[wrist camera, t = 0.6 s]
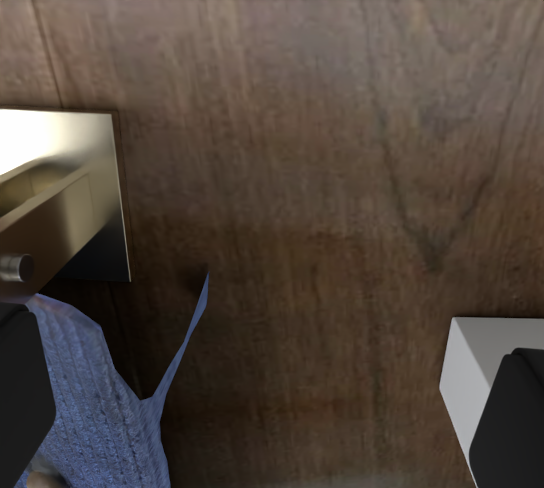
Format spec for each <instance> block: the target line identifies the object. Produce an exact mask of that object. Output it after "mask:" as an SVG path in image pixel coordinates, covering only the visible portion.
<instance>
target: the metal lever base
mask: <svg viewBox="0 0 544 488" xmlns="http://www.w3.org/2000/svg"><path fill="white" fill-rule="evenodd" d="M135 275H136V270H135V261H134V252H133V243H132V234H131V225H130V216H129V206H128V197H127V188H126V179H125V170H124V161H123V152H122V143H121V134H120V125H119V116H118V111H109V110H89V109H70V108H50V107H31V106H11V105H0V302H6V303H17V304H24V305H25V304H26V303H27V302H28V301H29V300H30V299H31V298H32V297H33V296H34V295H35V294H36V293H37V292H38V291H39V290H40V289H41V288H42V287H43V286H44V285H45V284H46V283H47V282H48V281H49V280H50V279H51V278H53V277H57V278H72V279H86V280H101V281H116V282H131V281H132V280H133V278H134V277H135Z"/></svg>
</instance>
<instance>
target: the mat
mask: <svg viewBox="0 0 544 488" xmlns="http://www.w3.org/2000/svg"><path fill="white" fill-rule="evenodd" d="M208 279H209V272H208V275H207V278H206V281H205V284H204V287H203V289H202V292H201V295H200V298H199V301H198V304H197V307H196V310H195V313H194V315H193V318H192V321H191V324H190V327H189V329H188V332H187V335H186V338H185V341H184V343H183V344H182V346H181V347H180V349H179V351H178V352H177V354H176V356H175V357H174V359H173V361H172V362H171V364H170V366H169V367H168V369H167V371H166V373H165V375H164V377H163V378H162V380H161V382H160V384H159V386H158V388H157V389H156V391H155V393H154V395H153V396H152V397H150V398H147V399H144V400H139V399H138V397H137V396H136V395H135V394H134V392H133V391H132V390H131V389H130V387H129V386H128V385H127V383H126V382H125V381H124V380H123V378H122V377H121V376H120V375H119V373H118V372H117V371H116V370H115V368H114V365H113V362H112V359H111V356H110V353H109V350H108V347H107V344H106V341H105V338H104V335H103V332H102V329H101V326H100V325H99V324H97V323H96V322H94V321H93V320H92V319H90V318H89V317H87V316H86V315H85V314H83V313H82V312H80V311H79V310H77V309H76V308H75V307H73V306H72V305H69V304H67V303H64V302H61V301H58V300H55V299H52V298H49V297H46V296H43V295H41V294H38V293H36V294H35V295H34V296H33V297H32V298H31V299H30V300H29V301H28V302H27V303H26V304H25V305H26V306H27V307H28V309H29V311H30V312H32V313H34V314H35V315H36V318H37V322H38V326H39V331H40V336H41V340H42V345H43V349H44V354H45V359H46V363H47V368H48V372H49V377H50V382H51V386H52V391H53V395H54V400H55V405H56V417H55V421H54V424H53V426H52V428H51V429H50V431H49V433H48V434H47V436H46V437H45V439H44V440H43V442H42V444H41V445H40V447H39V448H38V450H37V452H36V453H35V455H34V456H33V458H32V460H31V461H30V463H29V464H28V466H27V467H26V469H25V471H24V472H23V474H22V475H21V477H20V479H19V480H18V482H17V483H16V485H15V486H14V488H171V487H170V480H169V473H168V464H167V459H166V456H165V454H164V450H163V446H162V443H161V435H160V419H161V415H162V410H163V406H164V402H165V397H166V393H167V391H168V389H169V386H170V384H171V382H172V379H173V377H174V375H175V372H176V370H177V368H178V365H179V363H180V360H181V358H182V356H183V353H184V351H185V348H186V346H187V343H188V341H189V338H190V336H191V333H192V331H193V330H194V328H195V326H196V324H197V322H198V320H199V319H200V317H201V315H202V313H203V311H204V309H205V308H206V304H207V296H208Z"/></svg>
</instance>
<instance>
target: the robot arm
mask: <svg viewBox="0 0 544 488" xmlns="http://www.w3.org/2000/svg"><path fill="white" fill-rule="evenodd" d="M55 417H56V405H55V400H54V395H53V391H52V386H51V382H50V377H49V372H48V368H47V363H46V359H45V354H44V349H43V345H42V340H41V336H40V331H39V326H38V322H37V318H36V315H35V314H34V313H32V312H30V311H29V309H28V307H27V306H26V305H24V304H17V303H6V302H0V488H14V486H15V485H16V483H17V482H18V480H19V479H20V477H21V475H22V474H23V472H24V471H25V469H26V467H27V466H28V464H29V463H30V461H31V460H32V458H33V456H34V455H35V453H36V452H37V450H38V448H39V447H40V445H41V444H42V442H43V440H44V439H45V437H46V436H47V434H48V433H49V431H50V429H51V428H52V426H53V424H54V421H55ZM469 464H470V468H471V471H472V473H473V476H474V479H475V481H476V484H477V487H478V488H544V350H543V349H532V348H520V347H518V348H515V349H514V350H513V351H512V353H511V354H505V355H504V356H503V358H502V360H501V363H500V366H499V368H498V371H497V374H496V377H495V379H494V382H493V385H492V388H491V390H490V393H489V396H488V399H487V401H486V404H485V407H484V410H483V412H482V415H481V418H480V420H479V423H478V426H477V429H476V431H475V434H474V437H473V440H472V442H471V445H470V448H469Z"/></svg>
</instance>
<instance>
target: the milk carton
mask: <svg viewBox="0 0 544 488" xmlns="http://www.w3.org/2000/svg"><path fill="white" fill-rule="evenodd" d="M518 347H520V348H532V349H543V350H544V319H527V318H476V317H453V318H452V321H451V326H450V332H449V337H448V342H447V348H446V353H445V359H444V364H443V369H442V375H441V380H440V391H441V394H442V396H443V399H444V402H445V404H446V407H447V410H448V412H449V415H450V418H451V420H452V423H453V426H454V429H455V431H456V434H457V437H458V439H459V442H460V445H461V447H462V450H463V453H464V455H465V458H466V461H467V463H468V466H469V469H470V471H471V468H470V464H469V448H470V445H471V442H472V440H473V437H474V434H475V431H476V429H477V426H478V423H479V420H480V418H481V415H482V412H483V410H484V407H485V404H486V401H487V399H488V396H489V393H490V390H491V388H492V385H493V382H494V379H495V377H496V374H497V371H498V368H499V366H500V363H501V360H502V358H503V356H504V355H505V354H511V353H512V351H513V350H514V349H515V348H518ZM471 474H472V477H473V479H474V476H473V473H472V471H471ZM474 482H475V485H476V487H477V484H476V481H475V479H474ZM477 488H478V487H477Z"/></svg>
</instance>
